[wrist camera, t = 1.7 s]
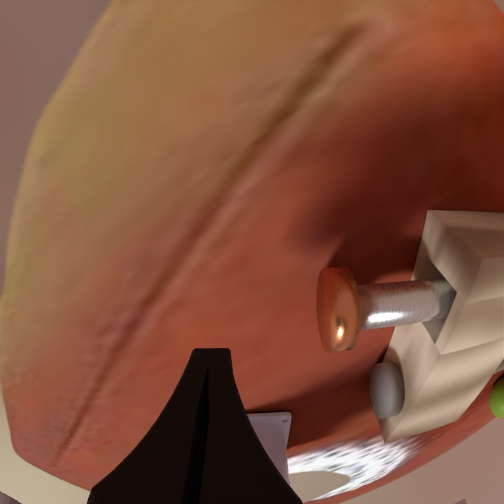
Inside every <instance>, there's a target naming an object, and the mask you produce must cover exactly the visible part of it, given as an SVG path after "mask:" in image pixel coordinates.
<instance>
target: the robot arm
mask: <svg viewBox="0 0 504 504" xmlns="http://www.w3.org/2000/svg"><path fill="white" fill-rule="evenodd" d="M291 418H292V416H291V413H290V412H275V413H257V414H247V413H246V411H245V409H244V406H243V404H242V401H241V398H240V395H239V392H238V389H237V386H236V383H235V379H234V375H233V368H232V359H231V350H229V349H228V348H195V349H194V350H193V351H192V354H191V356H190V359H189V361H188V364H187V366H186V368H185V370H184V373H183V375H182V377H181V379H180V381H179V383H178V385H177V386H176V388H175V390H174V392H173V394H172V396H171V398H170V399H169V401H168V403H167V404H166V406H165V408H164V409H163V411H162V412H161V414H160V416H159V417H158V419H157V420H156V421H155V423H154V424H153V426H152V427H151V428H150V430H149V431H148V432H147V434H146V435H145V436H144V438H143V439H142V440H141V441H140V442H139V444H138V445H137V446H136V447H135V448H134V449H133V451H132V452H131V453H130V454H129V455H128V456H127V457H126V458H125V459H124V460H123V461H122V462H121V463H120V464H119V465H118V466H117V467H116V468H115V469H114V470H113V471H112V472H111V473H109V474H108V475H107V476H106V477H105V478H103V479H102V480H101V481H100V482H99V483H97V484H96V485H95V486H94V487H93V488H92V490H91V492H90V495H89V498H88V501H87V504H303V503H302V500H301V499H300V498H299V497H298V496H297V494H296V493H295V492H294V491H293V489H292V488H291V487H290V482H289V473H288V463H287V454H286V448H287V442H288V436H289V430H290V424H291ZM0 504H21V503H19V502H18V501H17V500H15V499H13V498H11V497H10V496H8V495H6V494H4V493H2V492H1V491H0ZM455 504H467V503H466V500H461V501H459V502H457V503H455Z"/></svg>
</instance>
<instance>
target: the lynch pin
mask: <svg viewBox="0 0 504 504" xmlns="http://www.w3.org/2000/svg"><path fill="white" fill-rule="evenodd" d="M456 295H457V292H456V290H455V289H454V288H453V287H452V286H451V284H450V283H449V282H448V281H447V279H446V278H445V277H443V278H433V279H422V280H412V281H400V282H388V283H376V284H363V285H357V284H356V281H355V278H354V276H353V274H352V272H351V271H350V269H349V268H347V267H332V268H323V269H322V270H321V272H320V275H319V279H318V285H317V320H318V328H319V334H320V338H321V342H322V345H323V347H324V349H325V351H326V352H328V353H331V352H340V351H349V350H352V349H353V348H354V346H355V344H356V342H357V339H358V335H359V330H368V329H376V328H384V327H391V326H398V325H405V324H412V323H418V322H425V321H431V320H437V319H442V318H447V317H448V314H449V312H450V310H451V307H452V305H453V302H454V300H455V297H456Z"/></svg>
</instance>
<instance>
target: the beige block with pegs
mask: <svg viewBox="0 0 504 504" xmlns="http://www.w3.org/2000/svg"><path fill="white" fill-rule="evenodd" d="M443 277H445V278H446V279H447V281H448V282H449V283H450V284H451V286H452V287H453V288H454V289H455V290H456V292H457V295H456V297H455V300H454V302H453V305H452V307H451V310H450V312H449V314H448V317H447V318H442V319H437V320H431V321H425V322H418V323H412V324H405V325H398V326H396V327H395V330H394V333H393V335H392V338H391V341H390V344H389V346H388V349H387V351H386V354H385V356H384V359H383V361H382V363H378V364H376V365H374V367H373V368H372V371H371V374H370V380H369V394H370V400H371V404H372V408H373V410H374V412H375V414H376V416H377V419H378V422H379V425H380V429H381V432H382V435H383V439H384V442H385V443H386V442H390V441H394V440H398V439H402V438H405V437H409V436H412V435H416V434H419V433H422V432H426V431H429V430H432V429H435V428H438V427H441V426H444V425H446V424H449V423H452V422H455V421H457V420H458V419H459V418H460V416H461V415H462V414H463V413H464V412H465V410H466V409H467V408H468V407H469V406H470V404H471V403H472V402H473V400H474V399H475V398H476V397H477V395H478V394H479V393H480V391H481V390H482V389H483V387H484V386H485V385H486V383H487V382H488V381H489V379H490V378H491V376H492V375H493V374H494V373H496V372H499V371H501V370H504V213H497V212H476V211H448V210H428V211H427V216H426V220H425V225H424V230H423V234H422V238H421V243H420V247H419V251H418V255H417V259H416V262H415V266H414V270H413V273H412V277H411V280H410V281H412V280H422V279H433V278H443Z"/></svg>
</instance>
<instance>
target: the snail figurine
mask: <svg viewBox="0 0 504 504" xmlns="http://www.w3.org/2000/svg"><path fill="white" fill-rule="evenodd" d="M489 405H490V409H491V411H492V412H493V414H494V415H495V416H497V417H499V418H504V377H503V378H501V379H500V380H499V381H498V382H497V383H496V384H495V385H494V387H493V389H492V391H491V393H490V398H489Z"/></svg>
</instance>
